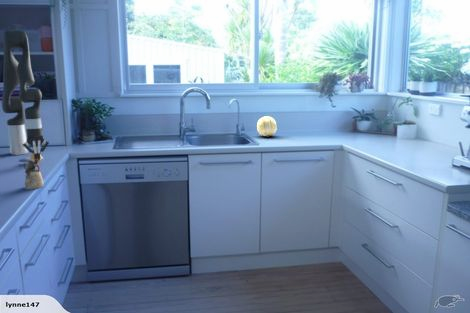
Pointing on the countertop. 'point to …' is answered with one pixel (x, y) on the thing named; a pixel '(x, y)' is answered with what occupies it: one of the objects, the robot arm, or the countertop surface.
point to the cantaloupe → (266, 126)
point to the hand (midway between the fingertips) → (37, 160)
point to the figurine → (33, 175)
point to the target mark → (27, 159)
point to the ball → (33, 157)
